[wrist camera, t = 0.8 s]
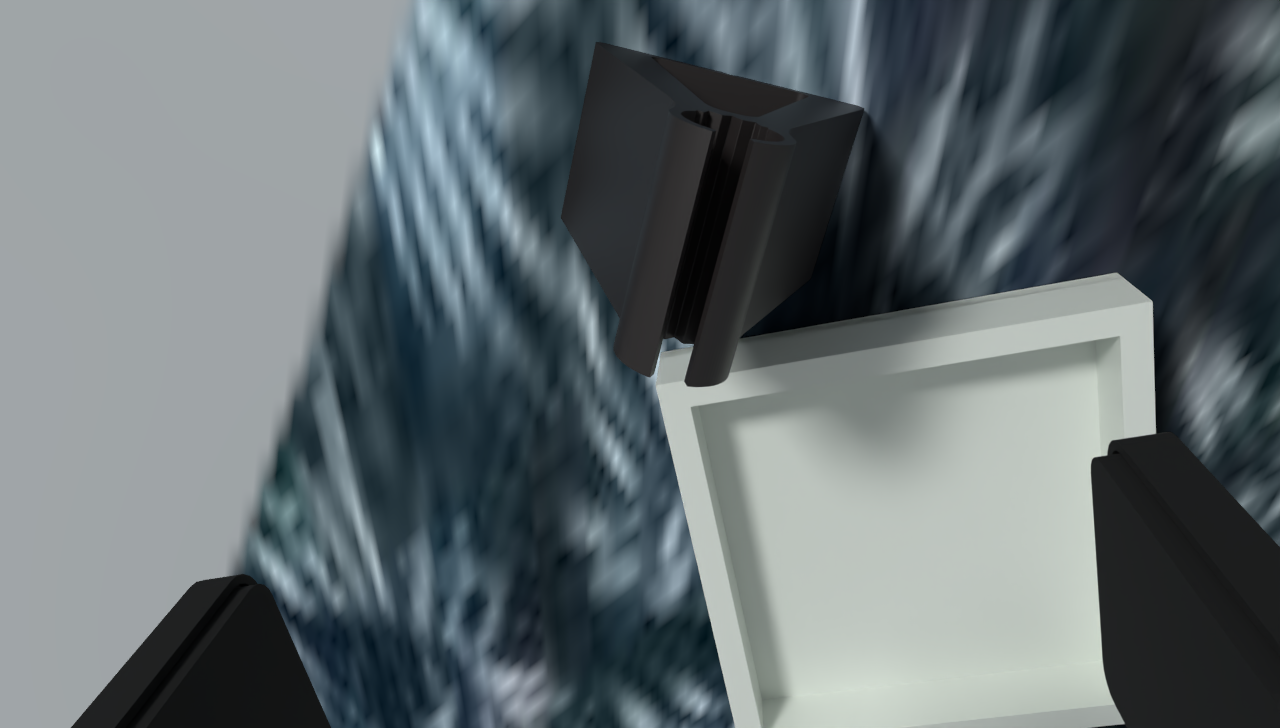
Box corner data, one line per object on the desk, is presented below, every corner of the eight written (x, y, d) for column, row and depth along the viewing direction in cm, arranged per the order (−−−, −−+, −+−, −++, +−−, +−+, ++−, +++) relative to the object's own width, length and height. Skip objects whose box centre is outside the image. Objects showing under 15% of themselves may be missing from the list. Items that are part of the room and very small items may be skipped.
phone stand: (863, 107, 32) (937, 186, 21) (809, 276, 34) (850, 428, 23) (597, 39, 32) (530, 83, 21) (561, 213, 34) (483, 337, 23)
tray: (1116, 272, 33) (1152, 301, 30) (1132, 666, 39) (1163, 719, 37) (660, 352, 36) (655, 385, 33) (742, 711, 42) (743, 764, 39)
